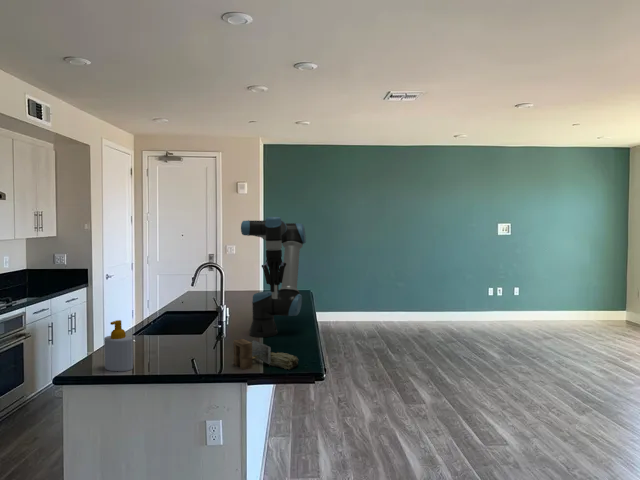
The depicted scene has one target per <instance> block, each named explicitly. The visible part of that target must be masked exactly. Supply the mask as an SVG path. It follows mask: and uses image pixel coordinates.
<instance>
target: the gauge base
mask: <svg viewBox="0 0 640 480" xmlns="http://www.w3.org/2000/svg"><path fill="white" fill-rule="evenodd" d="M239 354H240V358H239ZM253 359H254V360H255V359H256V358H255V357H253V356H252V341H249V340H247V339H244V338H239V339H235V340H233V365H234V366H236V367H238V366H239V369H241V370H246V369H251V368H253Z"/></svg>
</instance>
